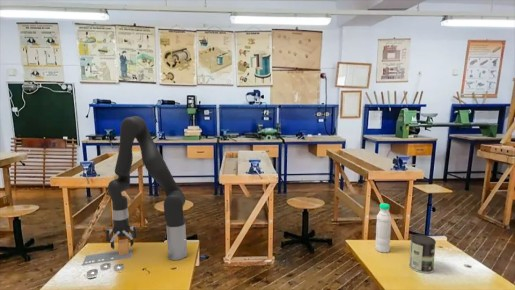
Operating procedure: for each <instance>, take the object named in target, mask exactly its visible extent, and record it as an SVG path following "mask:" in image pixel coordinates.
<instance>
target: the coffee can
mask: <svg viewBox="0 0 515 290" xmlns="http://www.w3.org/2000/svg"><path fill="white" fill-rule="evenodd" d="M436 243H437V241H436V240H435V238H433V237H431V236H428V235H424V234H412V235H411V236H410V248H409V249H410V250H409V263H408V266H409V268H410V269H412V270H413V271H414V272H418V273H421V274H431V273H433V272H434V271H435V270H434V267H435V266H434V265H435V252H436Z"/></svg>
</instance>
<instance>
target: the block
mask: <svg viewBox="0 0 515 290" xmlns="http://www.w3.org/2000/svg"><path fill="white" fill-rule="evenodd" d="M129 244H130V243H129V238H125V239H119V240H118V241H117V248H118V249H117V251H119V255H123V254H128V253H129V249H130V247H129Z"/></svg>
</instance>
